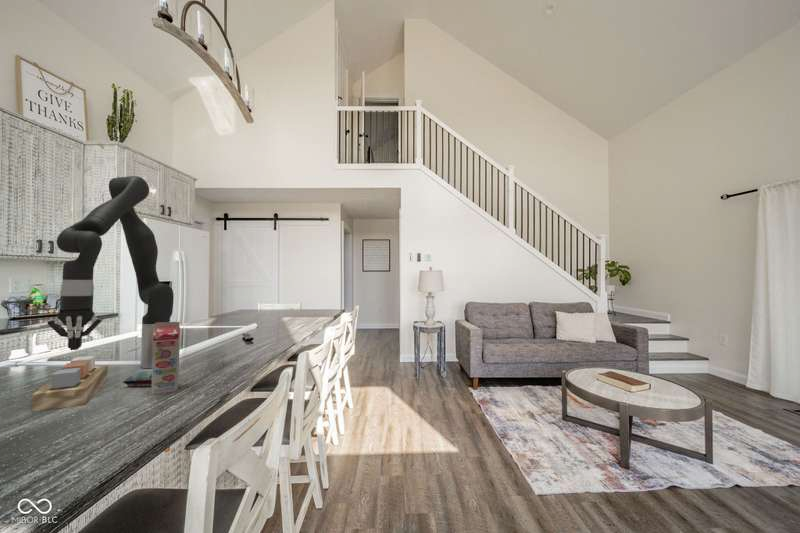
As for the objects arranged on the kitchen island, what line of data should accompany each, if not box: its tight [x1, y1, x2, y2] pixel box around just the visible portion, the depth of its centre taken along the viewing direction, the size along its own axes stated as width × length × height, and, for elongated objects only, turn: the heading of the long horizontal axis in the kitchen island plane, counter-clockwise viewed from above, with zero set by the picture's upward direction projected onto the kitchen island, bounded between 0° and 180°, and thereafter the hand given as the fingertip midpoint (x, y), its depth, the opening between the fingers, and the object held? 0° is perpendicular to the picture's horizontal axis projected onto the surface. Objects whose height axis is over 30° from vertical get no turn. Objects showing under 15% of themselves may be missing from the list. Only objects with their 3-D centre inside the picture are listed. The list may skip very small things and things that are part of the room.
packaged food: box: [122, 368, 152, 387], centre depth 116 cm, size 9×12×5 cm
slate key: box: [51, 368, 81, 389], centre depth 99 cm, size 5×5×4 cm
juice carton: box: [151, 321, 181, 395], centre depth 111 cm, size 7×7×22 cm
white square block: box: [70, 355, 96, 372], centre depth 113 cm, size 5×5×4 cm
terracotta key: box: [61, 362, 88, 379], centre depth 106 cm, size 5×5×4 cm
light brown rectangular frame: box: [31, 365, 109, 413], centre depth 106 cm, size 11×26×5 cm, turn 30°
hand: (74, 349), depth 106 cm, fingers closed
